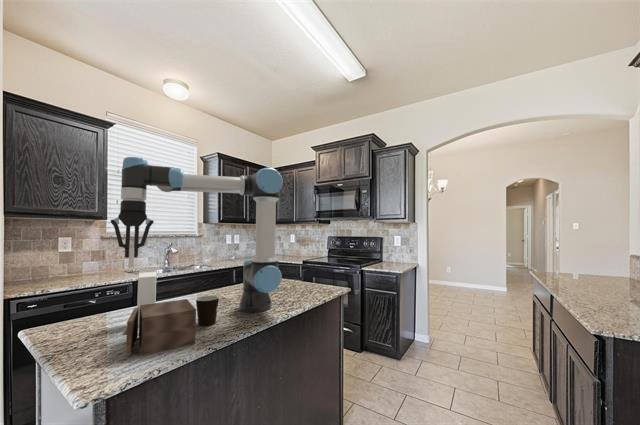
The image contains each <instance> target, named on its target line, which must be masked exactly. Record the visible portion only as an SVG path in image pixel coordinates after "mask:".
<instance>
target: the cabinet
mask: <svg viewBox="0 0 640 425" xmlns="http://www.w3.org/2000/svg"><path fill="white" fill-rule="evenodd" d="M196 322H197V308H196V307H195V306H194V305H193V304H192V303H191V301H189V299H187V298H185V299H178V300H170V301H162V302H155V303H154V304H147V305H140V315H139V326H138V343H139V351H140V356H145V355H149V354H150V355H151V354H154V353H159V352H164V351H168V350H173V349H177V348H180V347H185V346H189V345H194V344H196V326H197V323H196Z"/></svg>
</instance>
